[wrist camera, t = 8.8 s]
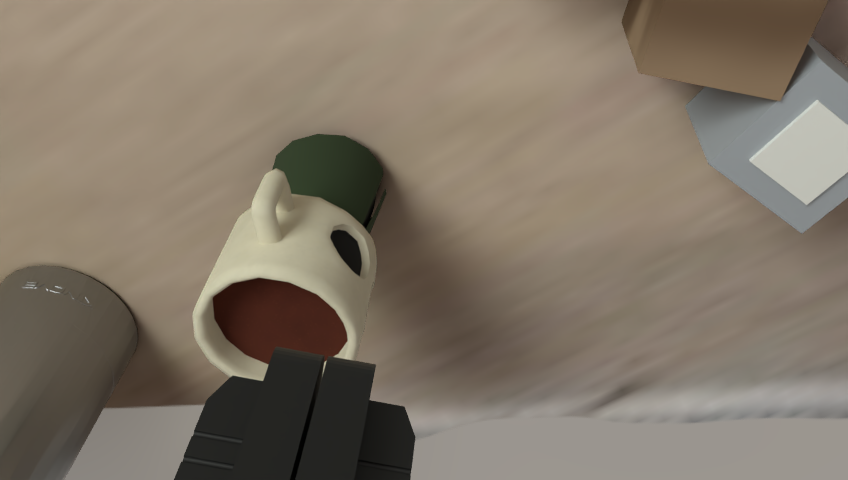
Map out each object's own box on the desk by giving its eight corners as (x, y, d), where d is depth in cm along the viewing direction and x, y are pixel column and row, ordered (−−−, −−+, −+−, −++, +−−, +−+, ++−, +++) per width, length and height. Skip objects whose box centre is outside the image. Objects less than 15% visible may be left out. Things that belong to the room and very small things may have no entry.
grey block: (770, 171, 42) (805, 237, 37) (684, 105, 40) (709, 165, 35) (869, 86, 39) (921, 146, 34) (781, 11, 37) (823, 63, 32)
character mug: (406, 255, 47) (377, 426, 36) (287, 259, 48) (225, 427, 37) (381, 81, 40) (337, 226, 30) (245, 90, 41) (155, 233, 31)
